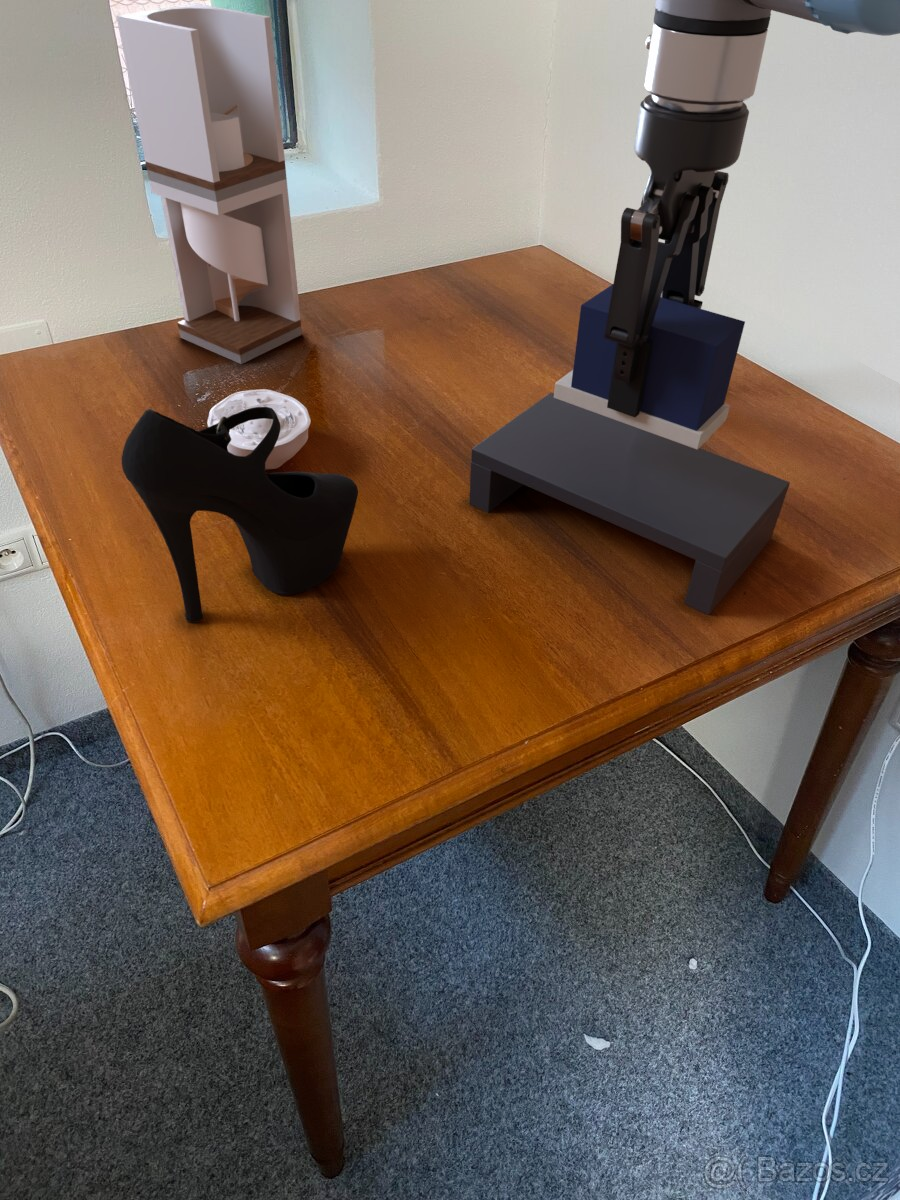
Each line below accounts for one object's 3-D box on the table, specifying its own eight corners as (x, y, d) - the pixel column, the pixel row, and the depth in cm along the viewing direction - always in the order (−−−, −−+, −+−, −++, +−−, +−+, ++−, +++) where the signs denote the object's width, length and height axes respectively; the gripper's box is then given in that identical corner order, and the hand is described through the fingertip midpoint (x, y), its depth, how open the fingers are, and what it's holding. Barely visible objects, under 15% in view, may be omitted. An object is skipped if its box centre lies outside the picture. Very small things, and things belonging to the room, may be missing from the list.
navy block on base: (726, 420, 76) (752, 322, 70) (697, 450, 73) (722, 349, 67) (586, 372, 82) (599, 278, 76) (553, 397, 79) (563, 300, 73)
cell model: (296, 420, 99) (289, 365, 94) (325, 478, 90) (320, 420, 86) (205, 437, 96) (194, 381, 91) (226, 498, 87) (216, 439, 83)
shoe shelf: (771, 537, 84) (790, 481, 80) (708, 615, 76) (726, 558, 72) (545, 445, 96) (550, 391, 91) (468, 504, 87) (471, 448, 83)
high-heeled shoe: (378, 562, 80) (368, 362, 67) (190, 656, 71) (135, 446, 58) (329, 521, 85) (310, 326, 71) (146, 605, 76) (85, 398, 62)
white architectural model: (180, 337, 113) (116, 15, 90) (241, 310, 119) (197, 3, 96) (241, 364, 108) (190, 30, 85) (302, 334, 114) (270, 16, 91)
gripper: (702, 67, 68) (651, 344, 84) (581, 116, 57) (547, 426, 72) (796, 82, 65) (724, 367, 81) (687, 137, 54) (628, 457, 69)
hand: (641, 394), depth 77 cm, fingers closed on navy block on base, 6 cm apart
